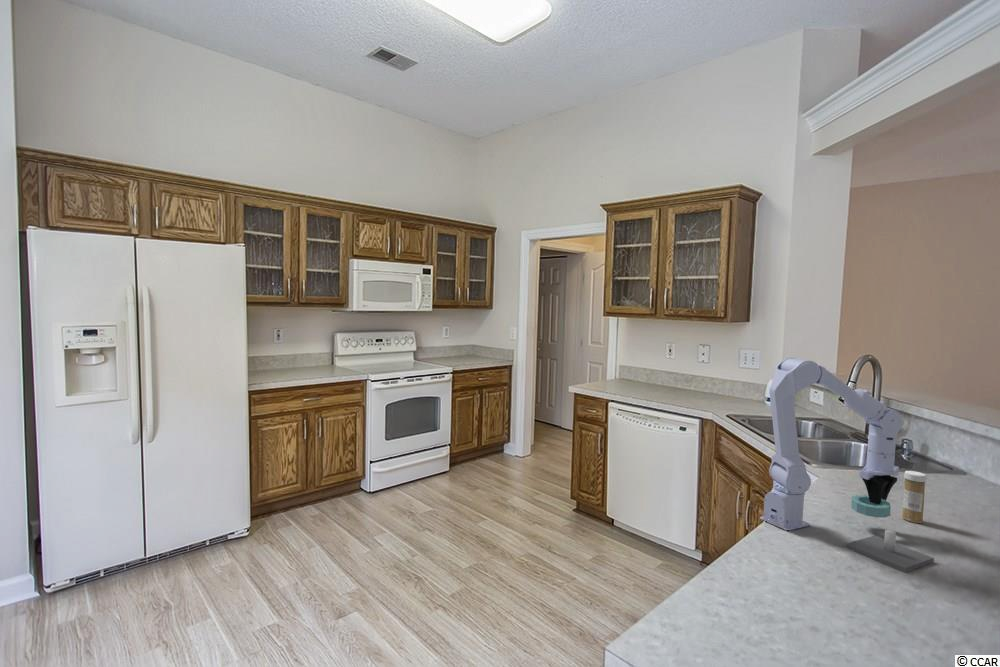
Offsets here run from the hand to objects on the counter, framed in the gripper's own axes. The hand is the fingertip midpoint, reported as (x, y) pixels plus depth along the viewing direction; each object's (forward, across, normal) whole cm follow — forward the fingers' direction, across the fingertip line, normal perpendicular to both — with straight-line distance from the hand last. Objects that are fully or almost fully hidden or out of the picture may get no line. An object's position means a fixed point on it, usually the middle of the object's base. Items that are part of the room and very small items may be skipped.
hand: (877, 502), depth 128 cm
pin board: (+7, -14, -10) cm, 19 cm away
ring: (+2, -3, 0) cm, 3 cm away
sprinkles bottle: (+7, +16, -1) cm, 17 cm away
